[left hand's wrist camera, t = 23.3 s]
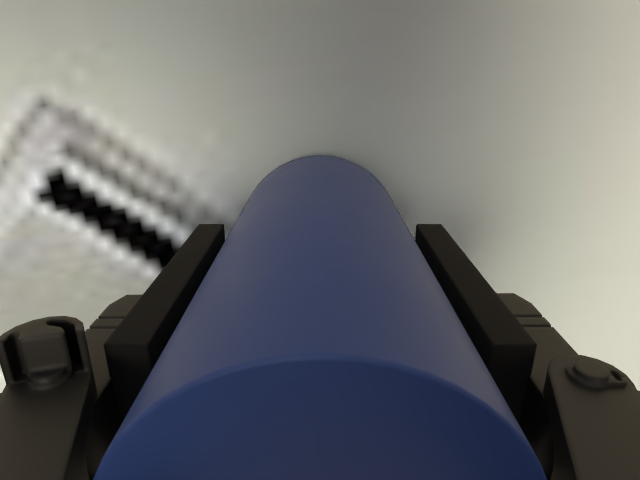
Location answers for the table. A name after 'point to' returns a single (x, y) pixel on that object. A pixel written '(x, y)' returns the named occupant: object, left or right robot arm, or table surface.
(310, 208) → the canister
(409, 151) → the table surface
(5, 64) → the table surface
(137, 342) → the left robot arm
